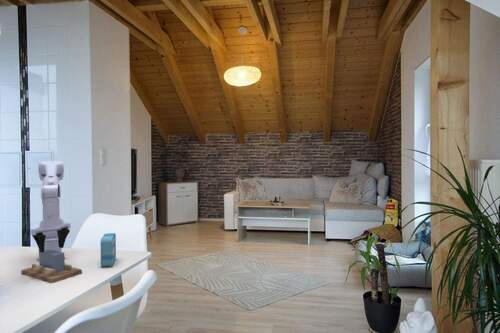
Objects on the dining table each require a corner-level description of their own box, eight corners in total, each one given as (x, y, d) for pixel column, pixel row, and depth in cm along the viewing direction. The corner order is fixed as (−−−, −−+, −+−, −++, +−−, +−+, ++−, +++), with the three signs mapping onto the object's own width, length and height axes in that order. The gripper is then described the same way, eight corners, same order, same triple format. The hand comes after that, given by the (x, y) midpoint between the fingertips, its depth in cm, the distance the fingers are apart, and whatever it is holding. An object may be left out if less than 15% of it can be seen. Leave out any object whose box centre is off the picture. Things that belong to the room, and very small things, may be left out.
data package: (112, 267, 143) (112, 238, 143) (100, 268, 142) (100, 239, 142) (115, 258, 155) (115, 232, 154) (105, 259, 153) (104, 232, 153)
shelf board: (21, 273, 134) (21, 264, 134) (51, 265, 145) (51, 257, 145) (51, 283, 125) (51, 273, 125) (81, 273, 135) (81, 264, 135)
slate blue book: (39, 269, 135) (39, 251, 135) (49, 266, 139) (49, 249, 139) (54, 273, 130) (54, 255, 130) (64, 270, 134) (64, 252, 134)
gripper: (37, 219, 126) (38, 255, 126) (74, 213, 139) (75, 246, 139) (27, 217, 129) (27, 253, 130) (64, 212, 142) (64, 244, 142)
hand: (51, 249), depth 135 cm, fingers open, 7 cm apart
